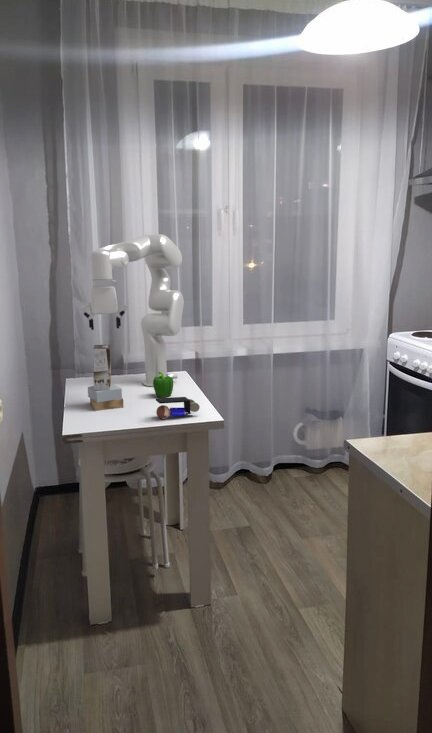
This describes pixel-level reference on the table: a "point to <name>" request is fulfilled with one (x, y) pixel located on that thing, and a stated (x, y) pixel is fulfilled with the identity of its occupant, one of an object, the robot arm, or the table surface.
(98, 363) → the coffee box
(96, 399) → the tower top block
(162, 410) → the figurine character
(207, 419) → the table surface
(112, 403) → the tower base block
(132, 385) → the table surface
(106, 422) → the table surface
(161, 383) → the bell pepper
